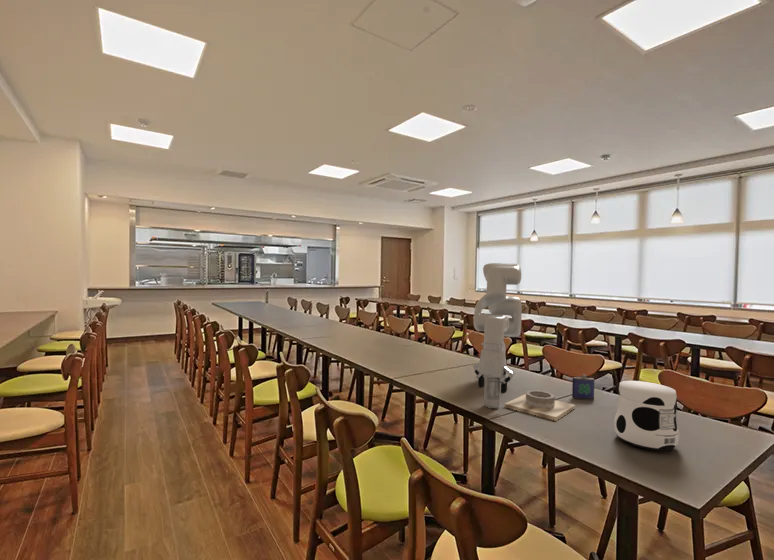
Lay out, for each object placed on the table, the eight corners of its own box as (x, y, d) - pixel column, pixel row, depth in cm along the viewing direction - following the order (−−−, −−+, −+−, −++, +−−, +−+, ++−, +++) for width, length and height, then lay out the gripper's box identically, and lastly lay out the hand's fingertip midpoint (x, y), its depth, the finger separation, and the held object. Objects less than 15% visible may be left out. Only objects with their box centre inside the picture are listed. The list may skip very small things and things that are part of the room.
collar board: (504, 407, 156) (505, 393, 156) (526, 397, 170) (526, 384, 170) (556, 421, 142) (556, 406, 142) (574, 408, 157) (575, 395, 157)
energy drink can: (499, 405, 159) (500, 368, 158) (499, 409, 153) (500, 371, 153) (484, 403, 160) (485, 366, 160) (483, 408, 154) (484, 370, 154)
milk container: (618, 428, 137) (620, 376, 137) (680, 442, 126) (682, 386, 126) (608, 443, 124) (610, 387, 124) (676, 461, 113) (679, 399, 113)
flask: (592, 398, 172) (593, 373, 171) (595, 400, 169) (596, 375, 168) (570, 397, 172) (571, 373, 172) (573, 399, 169) (574, 374, 169)
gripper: (469, 345, 159) (468, 387, 160) (509, 351, 147) (508, 397, 148) (479, 343, 165) (477, 383, 165) (518, 349, 153) (517, 393, 153)
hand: (492, 390), depth 156 cm, fingers open, 9 cm apart
